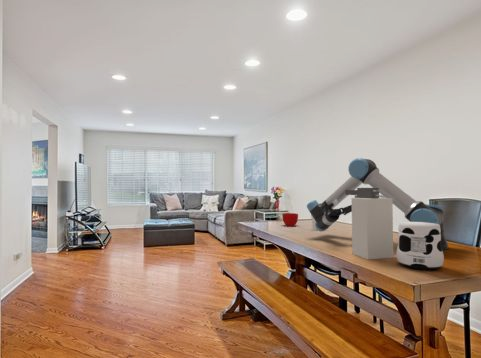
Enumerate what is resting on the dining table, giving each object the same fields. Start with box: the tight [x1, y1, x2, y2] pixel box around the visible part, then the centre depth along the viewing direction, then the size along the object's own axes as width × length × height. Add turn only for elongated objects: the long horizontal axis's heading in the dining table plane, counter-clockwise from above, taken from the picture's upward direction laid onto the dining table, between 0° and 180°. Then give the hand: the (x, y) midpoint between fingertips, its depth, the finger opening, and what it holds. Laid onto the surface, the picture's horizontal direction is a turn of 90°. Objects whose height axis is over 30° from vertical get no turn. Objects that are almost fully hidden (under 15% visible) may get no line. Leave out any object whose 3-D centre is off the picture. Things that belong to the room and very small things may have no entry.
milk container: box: [395, 221, 445, 270], centre depth 132 cm, size 17×17×18 cm
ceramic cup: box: [281, 212, 299, 227], centre depth 260 cm, size 13×17×10 cm
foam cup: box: [310, 214, 320, 232], centre depth 236 cm, size 10×9×13 cm
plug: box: [345, 187, 381, 198], centre depth 158 cm, size 19×6×5 cm, turn 29°
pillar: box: [351, 197, 394, 260], centre depth 152 cm, size 12×14×28 cm
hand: (348, 200), depth 171 cm, fingers open, 13 cm apart
